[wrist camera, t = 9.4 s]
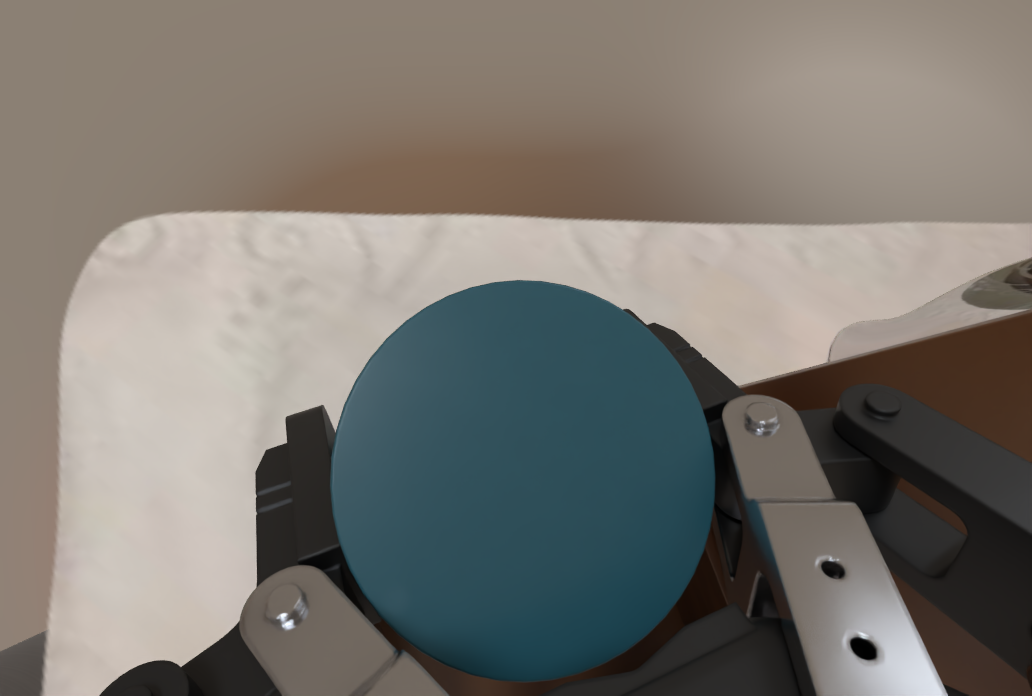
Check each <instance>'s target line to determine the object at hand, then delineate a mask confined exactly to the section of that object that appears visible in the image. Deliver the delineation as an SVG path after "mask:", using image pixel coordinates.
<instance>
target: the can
mask: <svg viewBox="0 0 1032 696" xmlns="http://www.w3.org/2000/svg"><path fill="white" fill-rule="evenodd" d="M715 478H716V476H715V464H714V452H713V447H712V442H711V437H710V432H709V428H708V425H707V422H706V419H705V416H704V412H703V409H702V406H701V404H700V402H699V400H698V397H697V395H696V393H695V391H694V389H693V387H692V384H691V383H690V381H689V379H688V378H687V376H686V374H685V373H684V371H683V370H682V368H681V366H680V365H679V363H678V362H677V360H676V359H675V358H674V357H673V355H672V354H671V353H670V352H669V350H668V349H667V348H666V347H665V345H664V344H663V343H662V342H661V341H660V340H659V339H658V338H657V337H656V336H655V335H654V334H653V333H652V332H651V331H650V330H649V329H648V328H647V327H645V326H644V325H643V324H642V323H640V322H639V321H638V320H636V319H635V318H634V317H633V316H631V315H630V314H629V313H627V312H625V311H624V310H622V309H620V308H619V307H617V306H615V305H614V304H612V303H610V302H609V301H606V300H604V299H602V298H600V297H597V296H595V295H593V294H591V293H588V292H586V291H582V290H579V289H576V288H573V287H569V286H566V285H561V284H555V283H549V282H543V281H523V280H515V281H504V282H494V283H489V284H485V285H480V286H476V287H471V288H468V289H465V290H463V291H460V292H457V293H454V294H452V295H449V296H447V297H445V298H443V299H441V300H439V301H437V302H435V303H433V304H431V305H429V306H427V307H426V308H424V309H423V310H421V311H420V312H418V313H417V314H416V315H414V316H413V317H411V318H410V319H408V320H407V321H406V322H404V323H403V324H402V325H401V326H400V327H399V328H398V329H397V330H396V331H395V332H393V333H392V334H391V335H390V336H389V337H388V338H387V339H386V340H385V341H384V342H383V344H382V345H381V346H380V347H379V348H378V350H377V351H376V352H375V353H374V354H373V355H372V357H371V358H370V359H369V361H368V362H367V364H366V365H365V367H364V369H363V370H362V372H361V373H360V375H359V376H358V378H357V379H356V381H355V383H354V385H353V388H352V390H351V392H350V394H349V396H348V398H347V400H346V402H345V405H344V408H343V411H342V414H341V417H340V420H339V423H338V426H337V429H336V434H335V440H334V445H333V451H332V456H331V474H330V491H331V503H332V514H333V518H334V523H335V527H336V531H337V536H338V540H339V543H340V546H341V549H342V551H343V554H344V557H345V559H346V562H347V565H348V567H349V569H350V571H351V573H352V575H353V577H354V578H355V580H356V582H357V584H358V586H359V588H360V589H361V591H362V593H363V594H364V596H365V597H366V598H367V600H368V601H369V602H370V604H371V605H372V606H373V608H374V609H375V611H376V612H377V613H378V615H379V616H380V617H381V618H382V619H383V620H384V621H385V622H386V623H387V624H388V625H389V626H390V627H391V628H392V629H393V630H394V631H395V632H396V633H397V634H398V635H399V636H400V637H402V638H403V639H404V640H406V641H407V642H408V643H410V644H411V645H412V646H414V647H415V648H416V649H418V650H419V651H420V652H422V653H423V654H425V655H427V656H429V657H431V658H433V659H434V660H436V661H438V662H440V663H442V664H444V665H445V666H448V667H451V668H453V669H456V670H459V671H461V672H464V673H467V674H470V675H473V676H478V677H482V678H487V679H492V680H497V681H509V682H537V681H548V680H555V679H559V678H563V677H568V676H572V675H576V674H579V673H582V672H585V671H587V670H590V669H592V668H595V667H597V666H600V665H602V664H604V663H606V662H608V661H610V660H611V659H613V658H615V657H617V656H619V655H620V654H622V653H624V652H626V651H627V650H628V649H630V648H631V647H632V646H634V645H635V644H636V643H638V642H639V641H640V640H642V639H643V638H644V637H645V636H647V635H648V634H649V633H650V632H651V631H652V630H653V629H654V628H655V627H656V626H657V625H658V624H659V623H660V622H661V621H662V620H663V619H664V618H665V617H666V615H667V614H668V613H669V611H670V610H671V609H672V608H673V606H674V605H675V604H676V602H677V601H678V600H679V598H680V597H681V596H682V594H683V592H684V590H685V589H686V587H687V585H688V584H689V582H690V580H691V578H692V577H693V575H694V573H695V570H696V568H697V566H698V563H699V561H700V559H701V556H702V554H703V552H704V548H705V545H706V541H707V538H708V534H709V531H710V527H711V522H712V515H713V509H714V502H715Z"/></svg>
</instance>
